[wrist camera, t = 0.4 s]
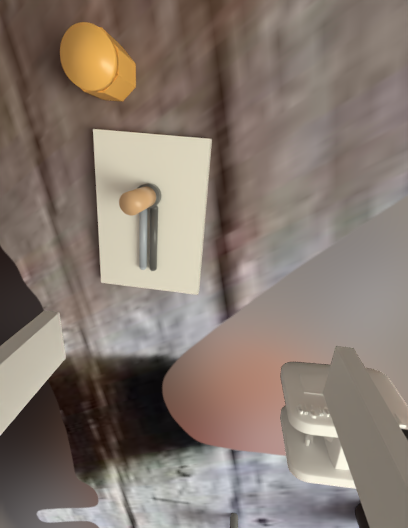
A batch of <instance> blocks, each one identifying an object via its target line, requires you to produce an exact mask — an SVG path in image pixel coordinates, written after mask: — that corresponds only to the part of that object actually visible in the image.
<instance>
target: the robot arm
mask: <svg viewBox="0 0 408 528" xmlns="http://www.w3.org/2000/svg"><path fill="white" fill-rule="evenodd" d="M65 358H66V356H65V349H64V342H63V335H62V328H61V320H60V313H59V312H52V311H43V312H42V313H41V314H40V315H39V316H37V317H36V318H35V319H33V320H32V321H31V322H30V323H29V324H27V325H26V326H25V327H24V328H22V329H21V330H20V331H19V332H17V333H16V334H15V335H14V336H12V337H11V338H10V339H9V340H8V341H6V342H5V343H4V344H3V345H1V346H0V435H1V434H2V433H3V431H4V430H5V429H6V428H7V427H8V425H9V424H10V423H11V422H12V421H13V420H14V418H15V417H16V416H17V415H18V414H19V412H20V411H21V410H22V409H23V408H24V406H25V405H26V404H27V403H28V402H29V401H30V399H31V398H32V397H33V396H34V395H35V394H36V392H37V391H38V390H39V389H40V388H41V386H42V385H43V384H44V383H45V382H46V381H47V379H48V378H49V377H50V376H51V375H52V374H53V372H54V371H55V370H56V369H57V368H58V366H59V365H60V364H61V363H62V362H63V361H64V359H65ZM323 395H324V398H325V401H326V404H327V406H328V409H329V412H330V415H331V418H332V421H333V424H334V427H335V429H336V432H337V435H338V438H339V441H340V444H341V447H342V449H343V452H344V455H345V458H346V461H347V464H348V467H349V470H350V472H351V475H352V478H353V481H354V484H355V487H356V490H357V492H358V495H359V498H360V501H361V504H362V507H363V510H364V512H365V515H366V518H367V521H368V524H369V527H370V528H408V430H407V429H401V428H400V426H399V425H398V423H397V421H396V420H395V418H394V416H393V414H392V413H391V411H390V409H389V408H388V406H387V404H386V403H385V401H384V399H383V397H382V396H381V394H380V392H379V391H378V389H377V387H376V386H375V384H374V382H373V380H372V379H371V377H370V375H369V374H368V372H367V370H366V369H365V367H364V365H363V363H362V362H361V360H360V358H359V357H358V355H357V354H356V351H355V350H354V348H348V347H340V346H336V348H335V351H334V355H333V358H332V362H331V365H330V369H329V372H328V376H327V379H326V383H325V386H324V390H323Z"/></svg>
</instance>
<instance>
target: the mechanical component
mask: <svg viewBox="0 0 408 528" xmlns="http://www.w3.org/2000/svg"><path fill="white" fill-rule="evenodd" d="M230 528H238V515H237V514H235V513H232V514H231V517H230Z"/></svg>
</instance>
